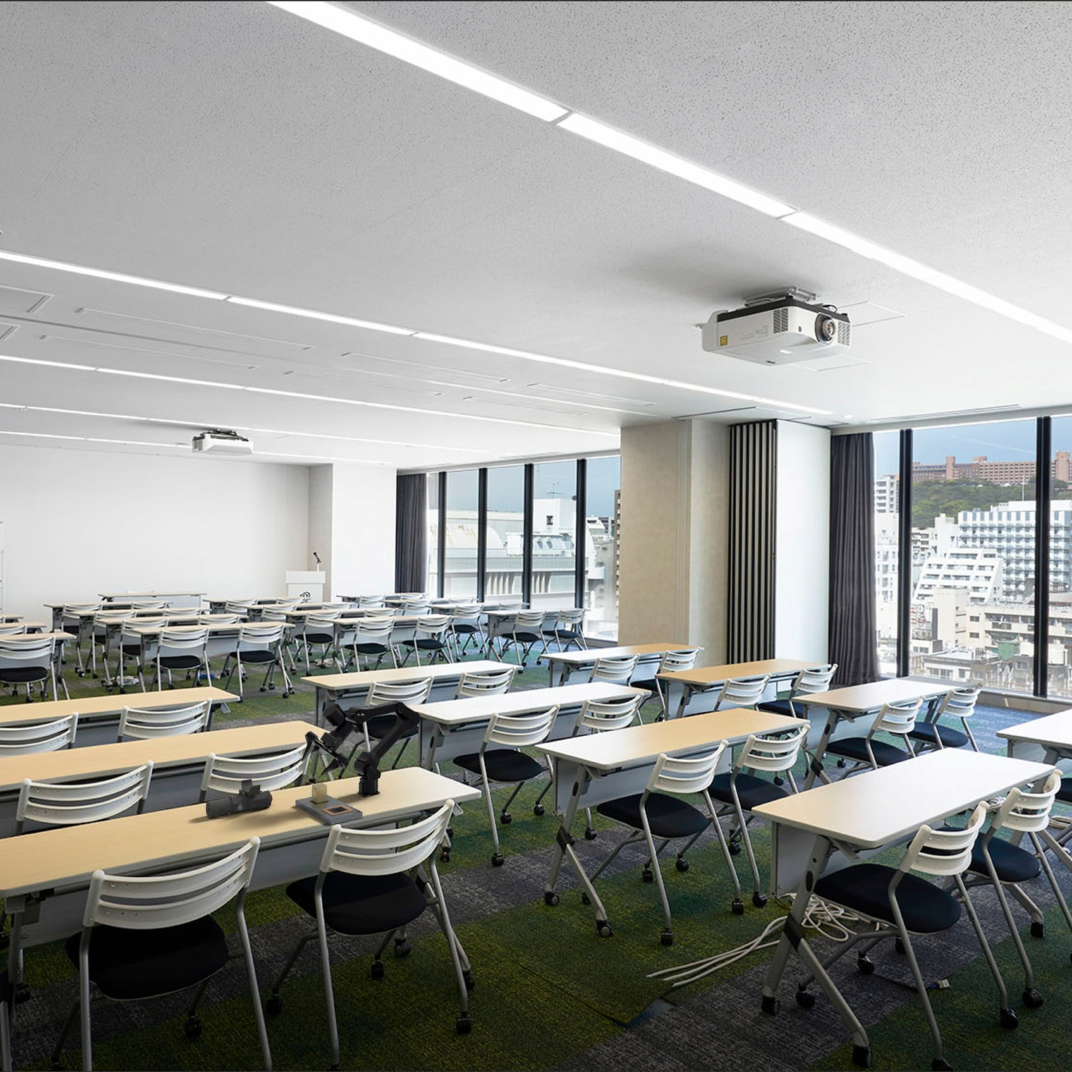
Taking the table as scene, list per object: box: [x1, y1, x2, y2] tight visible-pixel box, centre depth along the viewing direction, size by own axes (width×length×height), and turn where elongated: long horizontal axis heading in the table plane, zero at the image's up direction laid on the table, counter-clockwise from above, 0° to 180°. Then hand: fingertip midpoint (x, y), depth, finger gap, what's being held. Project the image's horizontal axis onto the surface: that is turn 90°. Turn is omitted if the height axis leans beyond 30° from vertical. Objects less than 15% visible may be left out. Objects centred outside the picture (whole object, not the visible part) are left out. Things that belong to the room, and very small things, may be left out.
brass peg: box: [311, 782, 328, 805], centre depth 308 cm, size 4×4×8 cm
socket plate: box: [294, 794, 364, 826], centre depth 302 cm, size 12×28×2 cm, turn 41°
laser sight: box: [205, 778, 273, 819], centre depth 302 cm, size 10×22×10 cm, turn 128°
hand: (311, 768), depth 307 cm, fingers open, 9 cm apart
